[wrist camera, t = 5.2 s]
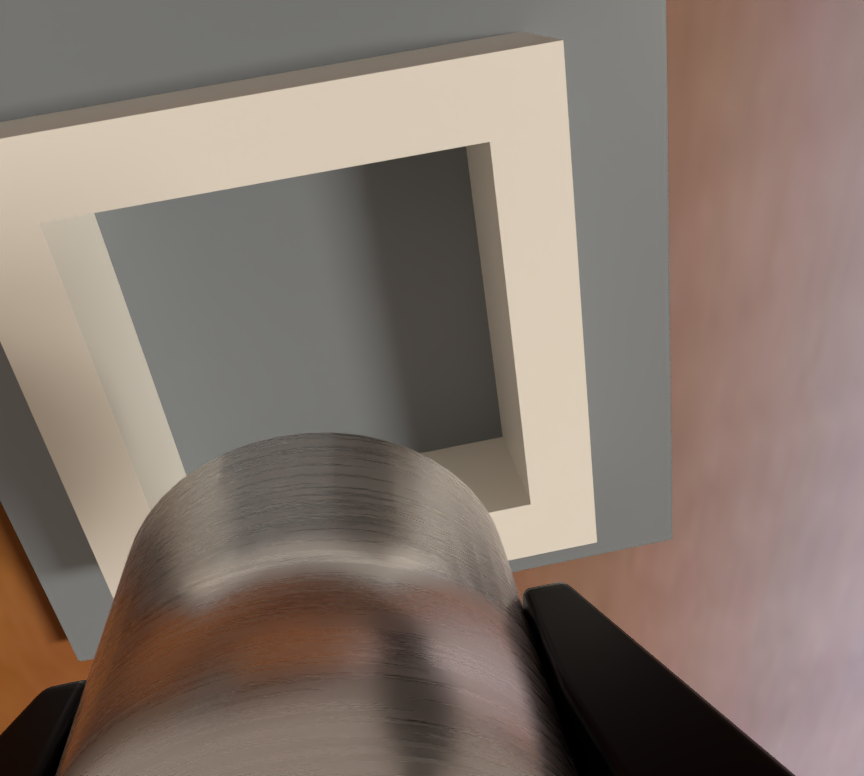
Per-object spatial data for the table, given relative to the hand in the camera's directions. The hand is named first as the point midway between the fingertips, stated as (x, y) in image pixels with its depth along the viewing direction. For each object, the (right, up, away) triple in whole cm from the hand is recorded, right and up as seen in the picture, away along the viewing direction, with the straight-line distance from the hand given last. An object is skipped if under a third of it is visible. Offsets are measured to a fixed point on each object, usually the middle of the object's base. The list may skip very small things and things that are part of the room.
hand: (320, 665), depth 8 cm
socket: (-1, +4, +9) cm, 10 cm away
